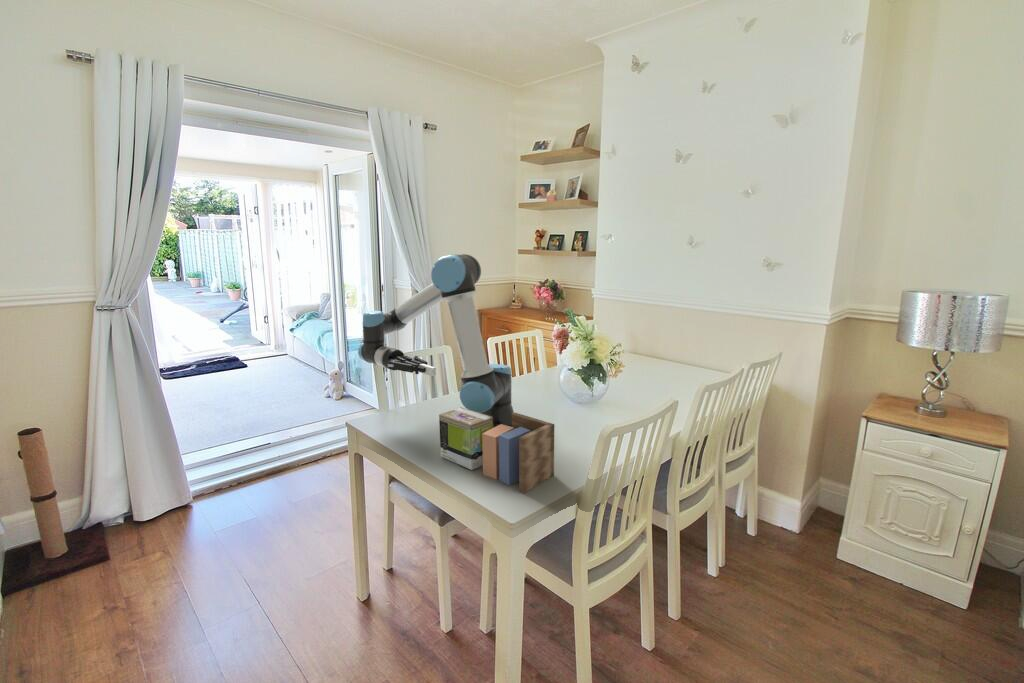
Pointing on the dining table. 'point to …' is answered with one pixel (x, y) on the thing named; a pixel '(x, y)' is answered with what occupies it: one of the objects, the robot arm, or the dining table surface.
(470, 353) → the robot arm
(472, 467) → the tea box
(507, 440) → the blue book
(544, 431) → the shelf
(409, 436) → the dining table surface
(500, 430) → the rust book
